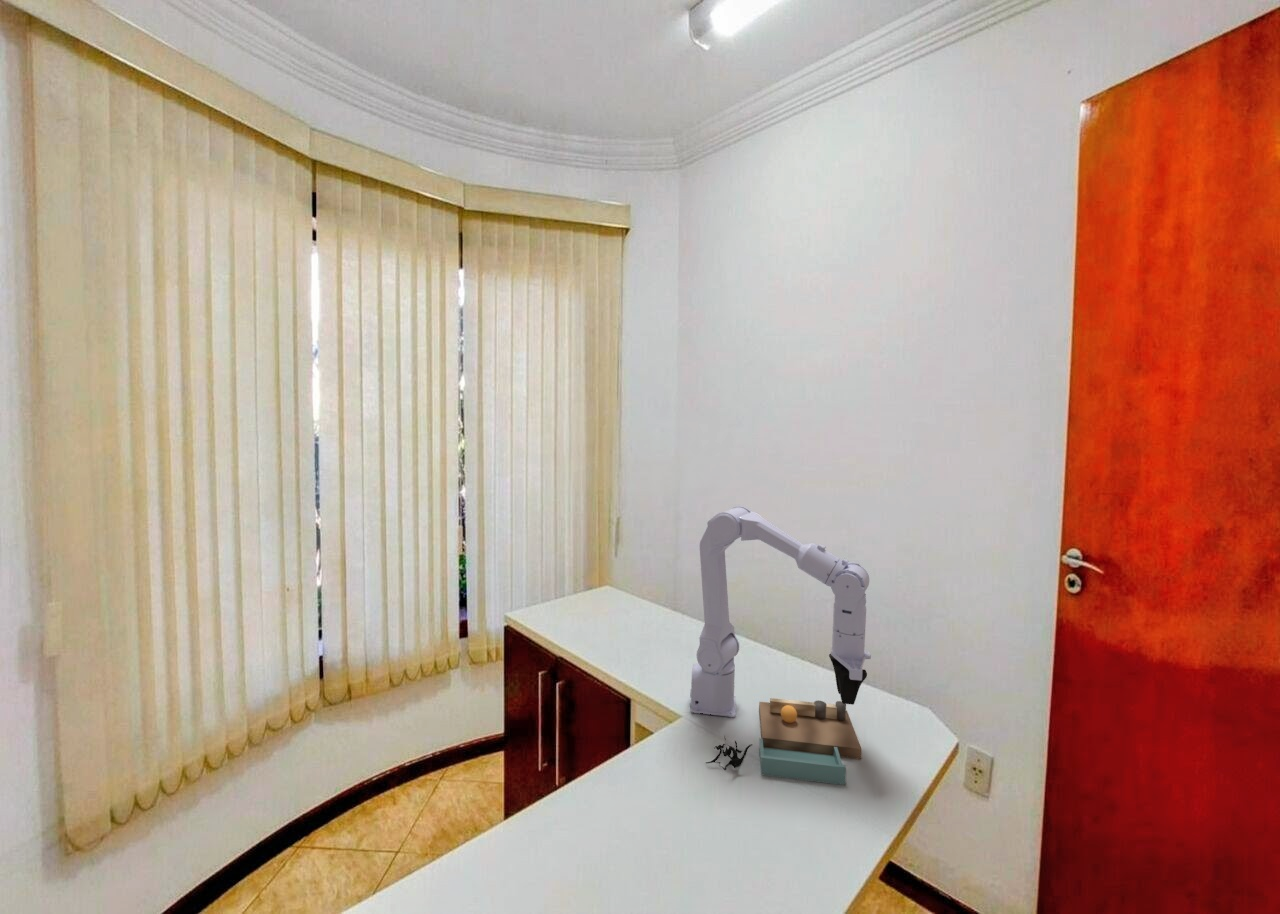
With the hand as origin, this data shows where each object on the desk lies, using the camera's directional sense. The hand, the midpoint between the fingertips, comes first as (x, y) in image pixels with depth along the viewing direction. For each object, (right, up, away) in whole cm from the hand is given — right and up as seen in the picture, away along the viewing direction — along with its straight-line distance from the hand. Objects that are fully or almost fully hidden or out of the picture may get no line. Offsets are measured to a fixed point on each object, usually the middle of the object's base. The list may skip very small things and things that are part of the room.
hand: (845, 698), depth 101 cm
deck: (-6, -9, +5) cm, 12 cm away
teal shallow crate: (-10, -10, -4) cm, 15 cm away
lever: (-5, -7, +8) cm, 12 cm away
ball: (-9, -7, +6) cm, 13 cm away
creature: (-23, -10, -4) cm, 26 cm away
